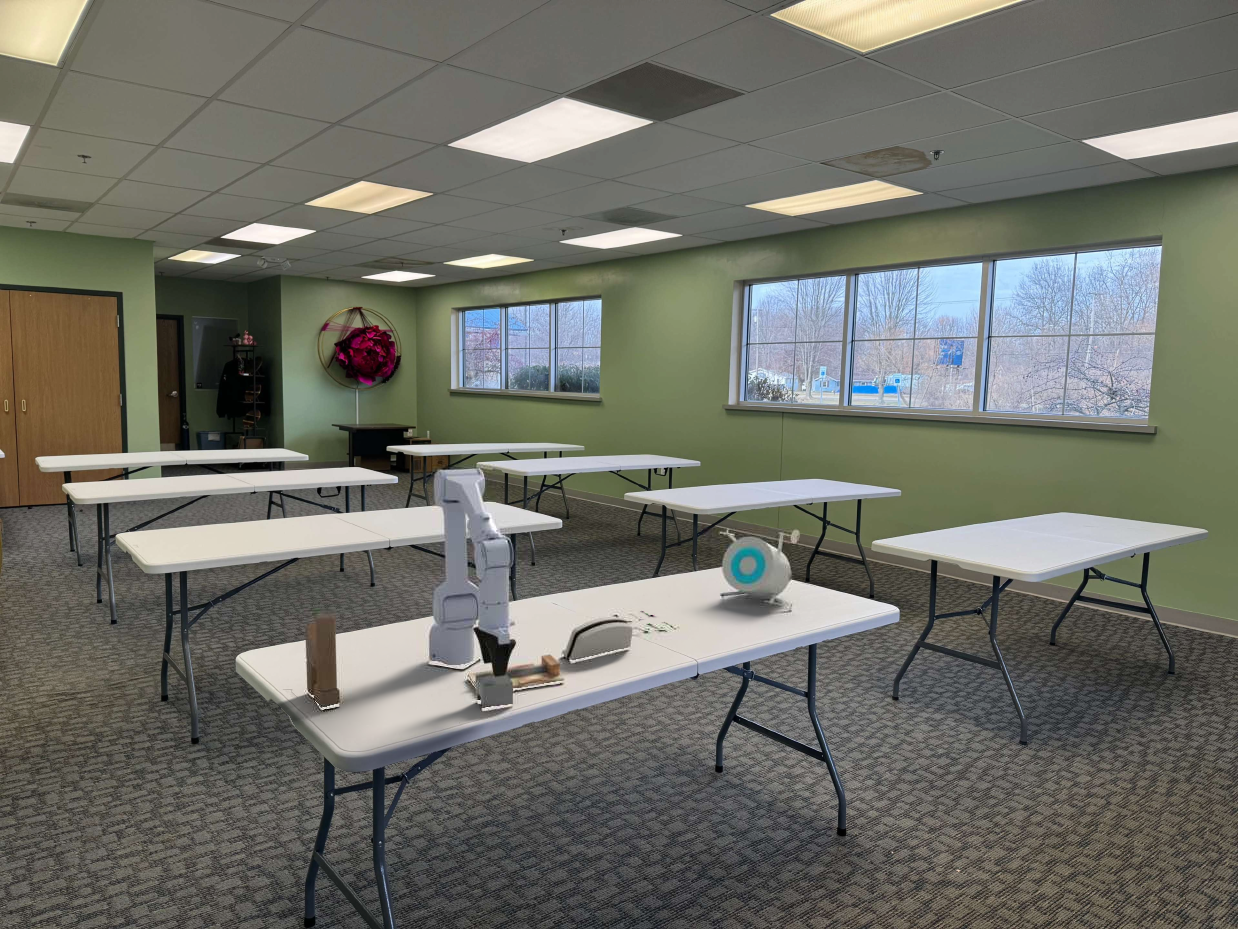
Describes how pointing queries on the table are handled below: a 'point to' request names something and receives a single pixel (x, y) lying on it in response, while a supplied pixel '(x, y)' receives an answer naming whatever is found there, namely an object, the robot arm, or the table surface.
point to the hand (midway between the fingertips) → (494, 669)
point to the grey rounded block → (598, 638)
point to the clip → (494, 690)
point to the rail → (528, 673)
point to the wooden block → (322, 660)
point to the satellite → (757, 567)
